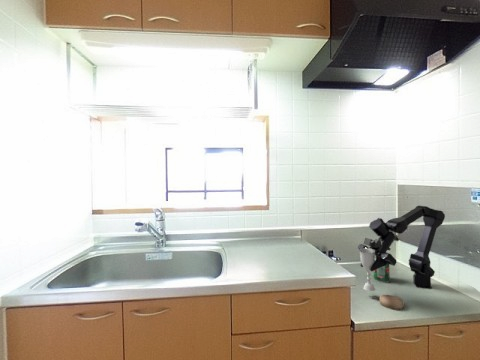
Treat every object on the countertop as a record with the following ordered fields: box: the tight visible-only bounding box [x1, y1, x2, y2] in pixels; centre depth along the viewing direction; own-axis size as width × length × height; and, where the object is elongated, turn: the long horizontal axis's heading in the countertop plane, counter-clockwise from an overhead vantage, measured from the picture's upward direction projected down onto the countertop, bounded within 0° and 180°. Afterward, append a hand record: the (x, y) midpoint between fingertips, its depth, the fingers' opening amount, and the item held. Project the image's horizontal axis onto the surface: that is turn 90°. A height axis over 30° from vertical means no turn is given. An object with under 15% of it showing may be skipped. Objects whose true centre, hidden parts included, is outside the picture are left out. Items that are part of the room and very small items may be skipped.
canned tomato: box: [372, 256, 391, 284], centre depth 143 cm, size 8×8×11 cm
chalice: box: [358, 247, 376, 292], centre depth 124 cm, size 7×7×18 cm
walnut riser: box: [379, 294, 404, 311], centre depth 116 cm, size 9×9×2 cm
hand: (365, 268), depth 124 cm, fingers closed on chalice, 6 cm apart
